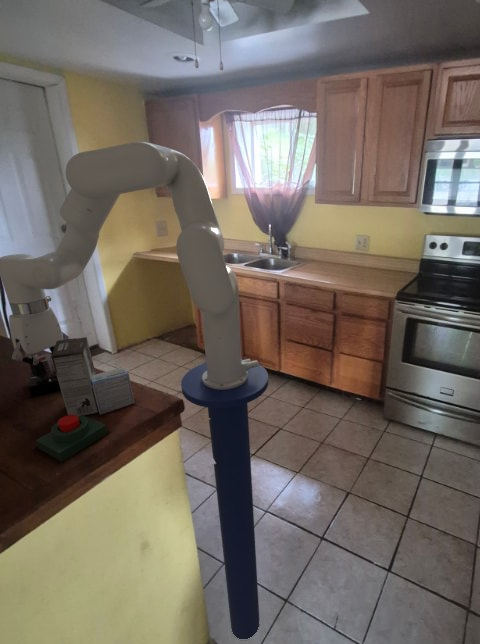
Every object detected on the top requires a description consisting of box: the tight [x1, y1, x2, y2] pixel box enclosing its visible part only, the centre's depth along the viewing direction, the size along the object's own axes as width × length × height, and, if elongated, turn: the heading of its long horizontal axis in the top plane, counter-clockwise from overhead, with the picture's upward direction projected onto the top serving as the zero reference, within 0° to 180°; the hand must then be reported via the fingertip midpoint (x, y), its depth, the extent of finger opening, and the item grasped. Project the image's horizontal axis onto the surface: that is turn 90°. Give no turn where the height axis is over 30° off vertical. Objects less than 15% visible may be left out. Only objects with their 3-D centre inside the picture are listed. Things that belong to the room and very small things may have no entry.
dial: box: [38, 353, 57, 379], centre depth 97 cm, size 4×4×5 cm
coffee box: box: [51, 336, 99, 416], centre depth 87 cm, size 9×6×16 cm
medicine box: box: [91, 366, 136, 415], centre depth 88 cm, size 8×4×9 cm, turn 128°
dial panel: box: [28, 371, 61, 398], centre depth 98 cm, size 9×9×3 cm
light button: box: [57, 414, 80, 432], centre depth 76 cm, size 4×4×2 cm
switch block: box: [35, 415, 108, 463], centre depth 77 cm, size 10×8×4 cm
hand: (49, 371), depth 97 cm, fingers closed on dial, 4 cm apart
